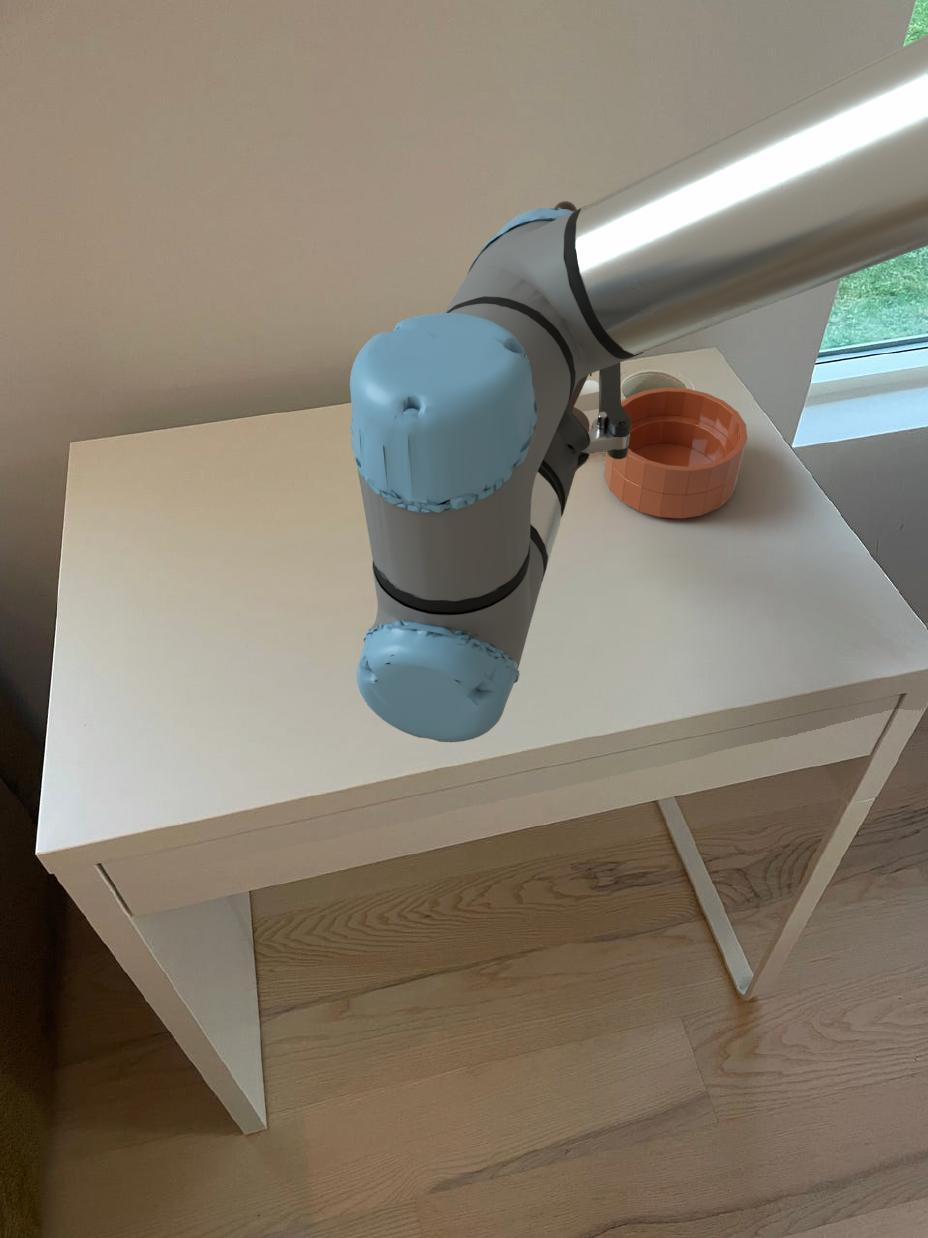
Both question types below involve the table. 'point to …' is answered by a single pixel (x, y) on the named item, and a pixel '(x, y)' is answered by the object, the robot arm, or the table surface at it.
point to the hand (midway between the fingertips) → (573, 294)
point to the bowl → (678, 453)
